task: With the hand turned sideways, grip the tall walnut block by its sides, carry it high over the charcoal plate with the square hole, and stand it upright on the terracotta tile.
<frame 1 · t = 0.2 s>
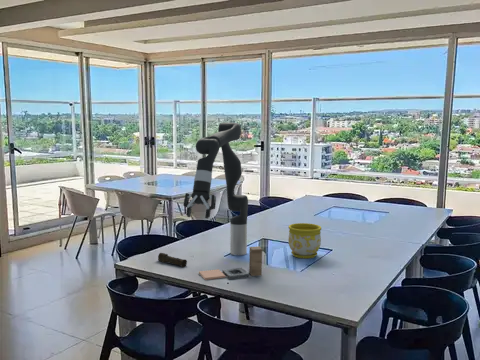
hand: (197, 217, 198), 31 cm above the table, tool tilted 20°, fingers open, 8 cm apart
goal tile: (211, 275, 218), on the table
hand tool: (170, 264, 236), on the table
hole plate: (235, 274, 219), on the table
walnut block: (255, 274, 220), on the table
flowerpot: (304, 255, 253), on the table
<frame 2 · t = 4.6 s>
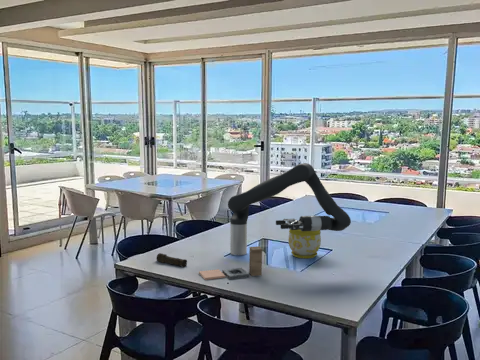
hand: (278, 224, 220), 24 cm above the table, tool horizontal, fingers open, 8 cm apart
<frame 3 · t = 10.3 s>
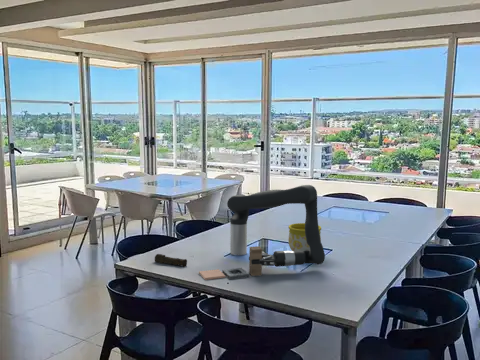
hand: (250, 260, 219), 7 cm above the table, tool horizontal, fingers closed on walnut block, 5 cm apart
walnut block: (255, 274, 220), on the table, touching gripper
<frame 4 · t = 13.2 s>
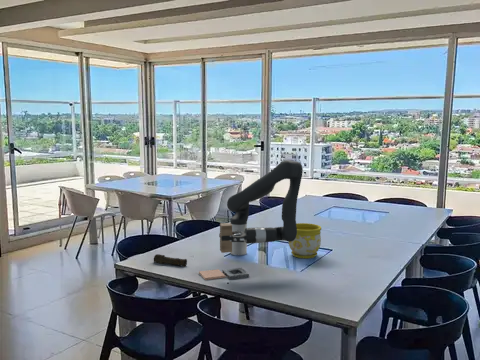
hand: (220, 236, 216), 19 cm above the table, tool horizontal, fingers closed on walnut block, 5 cm apart
walnut block: (225, 251, 217), point 12 cm above the table, touching gripper
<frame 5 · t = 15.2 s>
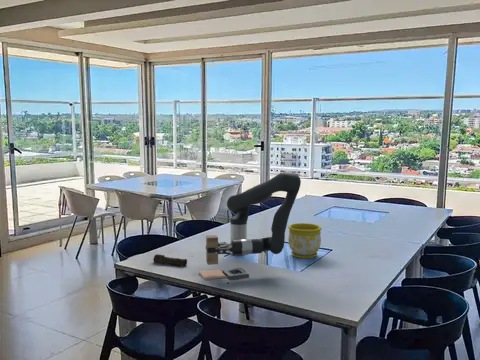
hand: (206, 248, 215), 13 cm above the table, tool horizontal, fingers closed on walnut block, 5 cm apart
walnut block: (212, 263, 217), point 6 cm above the table, touching gripper
when the fingers open (9 cm above the table, at t = 16.6 s): walnut block drops 1 cm, resting on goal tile.
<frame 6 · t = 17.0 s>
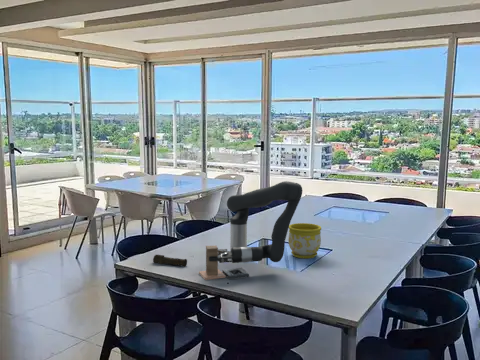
hand: (207, 256, 216), 10 cm above the table, tool horizontal, fingers open, 8 cm apart
walnut block: (211, 273, 218), point 1 cm above the table, touching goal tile
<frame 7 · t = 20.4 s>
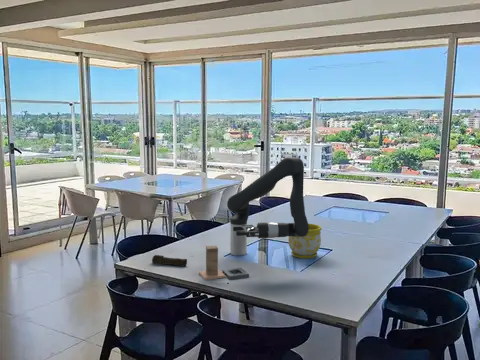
hand: (234, 231, 217), 21 cm above the table, tool horizontal, fingers open, 8 cm apart
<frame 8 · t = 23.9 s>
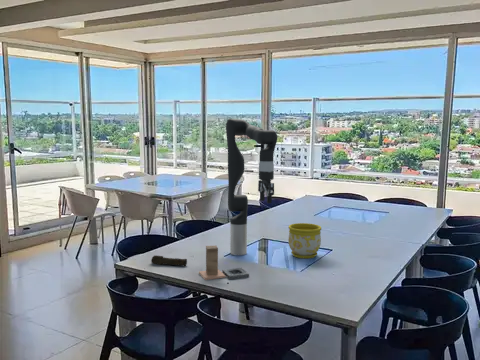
hand: (265, 201, 230), 33 cm above the table, tool pointing down, fingers open, 8 cm apart
at the end: walnut block inside the target area on the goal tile (0.1 cm from its centre), point 1.0 cm above the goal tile's base; walnut block tilted 0°; the gripper is holding nothing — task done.
